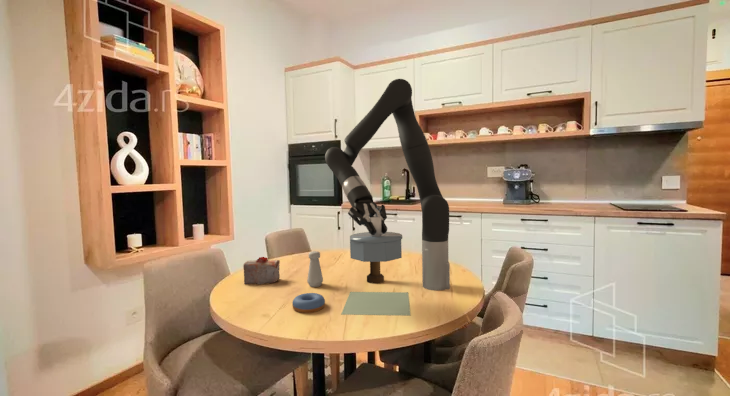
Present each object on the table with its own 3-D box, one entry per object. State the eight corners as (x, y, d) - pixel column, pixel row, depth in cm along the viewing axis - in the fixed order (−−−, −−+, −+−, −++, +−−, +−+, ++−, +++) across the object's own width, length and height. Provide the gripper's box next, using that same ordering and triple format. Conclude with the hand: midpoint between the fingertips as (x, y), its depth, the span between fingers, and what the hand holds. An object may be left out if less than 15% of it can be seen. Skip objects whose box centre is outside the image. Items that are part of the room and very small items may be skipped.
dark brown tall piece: (386, 280, 134) (385, 234, 133) (381, 285, 128) (380, 237, 127) (369, 278, 137) (368, 233, 136) (364, 283, 131) (363, 236, 130)
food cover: (402, 249, 116) (401, 214, 115) (403, 261, 100) (402, 220, 99) (353, 250, 118) (352, 214, 117) (346, 262, 101) (345, 221, 101)
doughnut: (310, 316, 100) (310, 300, 100) (285, 312, 105) (285, 296, 105) (331, 308, 108) (331, 294, 108) (307, 304, 113) (307, 290, 114)
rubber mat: (408, 293, 118) (408, 292, 118) (410, 316, 99) (410, 315, 99) (350, 292, 120) (350, 291, 120) (341, 315, 100) (341, 314, 100)
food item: (282, 278, 140) (281, 254, 139) (278, 284, 132) (277, 259, 131) (248, 279, 139) (247, 255, 139) (241, 285, 131) (240, 260, 131)
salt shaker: (324, 284, 131) (323, 250, 130) (321, 288, 125) (320, 253, 125) (309, 283, 132) (308, 250, 131) (305, 288, 126) (304, 253, 125)
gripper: (342, 185, 109) (365, 227, 100) (378, 183, 118) (402, 222, 108) (334, 201, 114) (356, 243, 105) (369, 199, 122) (392, 237, 113)
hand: (379, 232), depth 107 cm, fingers closed on food cover, 3 cm apart
